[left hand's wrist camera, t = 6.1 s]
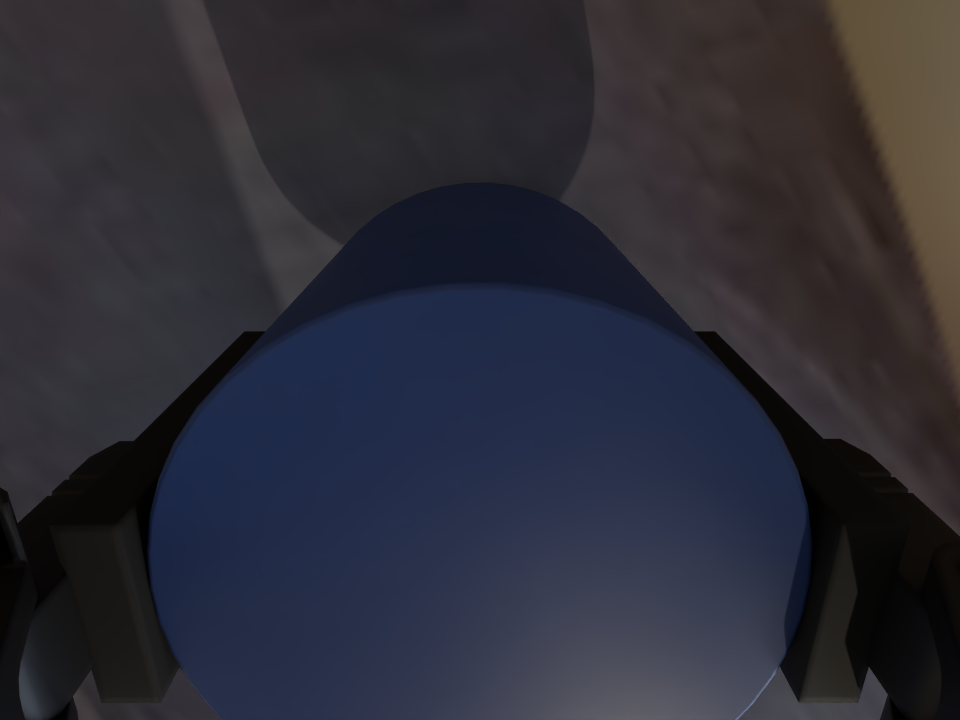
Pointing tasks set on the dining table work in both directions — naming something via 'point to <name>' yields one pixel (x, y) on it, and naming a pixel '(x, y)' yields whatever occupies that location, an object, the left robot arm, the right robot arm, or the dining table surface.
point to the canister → (479, 491)
